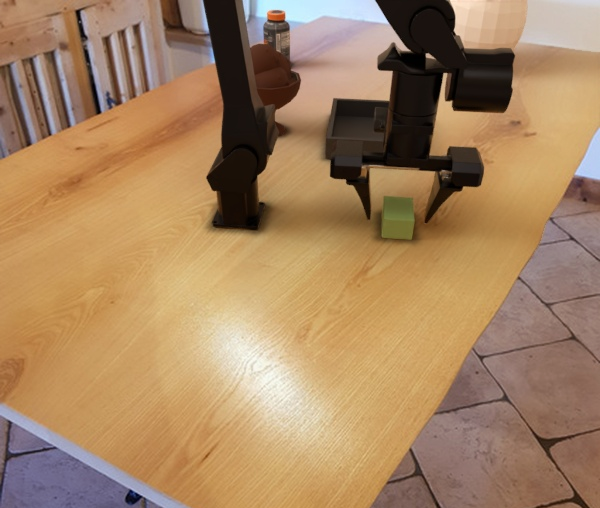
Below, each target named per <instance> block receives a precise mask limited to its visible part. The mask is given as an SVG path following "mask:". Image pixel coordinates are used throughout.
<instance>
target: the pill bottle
mask: <svg viewBox="0 0 600 508" xmlns="http://www.w3.org/2000/svg"><path fill="white" fill-rule="evenodd" d="M262 30H263V35H262V36H263V44H269V45H271V46H272V47H273V48H274V49H275V50H276V51H278V52H281V53H282V54H283V55H284V56H286V57H287V58H288V59H289V60H290V61H291V26H290V23H289V22H288V21H286V11H285V10H282V9H271V10H268V11H267V12H266V21H265V22H264V23H263V27H262Z"/></svg>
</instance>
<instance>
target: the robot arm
mask: <svg viewBox="0 0 600 508" xmlns="http://www.w3.org/2000/svg"><path fill="white" fill-rule="evenodd" d="M374 1H375V3H376V4H377V6H378V7H379V9H380V11H381V13H382V15H383V16H384V17H385V19H386V21H387V23H388V24H389V25H390V27H391V29H392V31H394V33H395V34H396V35H397V37H398V38H399V40H400V41H401V42H402V44H403V45H404V47H405V48H406V49H407V50H403V49H400V47H398V45H397V43H396V42H394V41H393V42H391V43H390V44H389V46H388V47H387V48H386V50H384V51H382V52H381V53H379V55H377V58H376V59H377V62H376V64H377V65H376V68H377V70H378V71H380V72H391V83H390V91H389V100H388V101H389V108H381V107H375V112H374V123H373V132H374V133H384V138H383V147H384V152H383V153H380V152H363V142H362V141H343V140H337V141H336V142H335V143H334V144H333V148H332V154H331V159H330V165H329V177H330V178H331V179H334V180H345V185H347V186H353V188H354V190H355V192H356V194H357V196H358V197H359V199H360V201H361V205H362V208H363V211H364V214H365V217H366V220H367V221H371V217H372V216H371V215H372V191H371V189H372V188H371V169H386V170H401V171H417V172H419V171H421V172H434V177H433V182H432V185H431V189H430V192H429V196H428V199H427V203H426V206H425V209H424V215H423V223H424V224H428V223H429V222H430V221H431V219H432V218H433V217H434V215H435V214H436V213H437V212H438V210H439V209H440V208H441V206H442V205H444V203H445V202H446V201H447V200H448V199H450V197H451V196H452V195H453V194H454V193H455V192H456V193H461V192H462V191H463V189H464V187H465V188H479V187H481V185H482V183H483V179H484V175H485V164H484V161H483V159H482V158H483V157H482V155H481V152H480V150H478V148H477V147H474V146H473V147H472V146H454V145H449V146H448V148H447V150H446V154H442V155H433V154H431V149H432V144H433V138H434V132H435V126H436V121H437V115H438V110H439V109H438V108H439V104H440V103H439V102H440V97H441V91H442V85H443V80H444V74H446V78H445V85H444V101H445V102H451V108H452V111H453V112H461V113H462V112H466V113H486V114H505V113H506V111H507V109H508V108H509V105H510V103H511V100H512V96H513V93H514V91H513V90H514V89H513V78H514V61H515V59H516V54H515V52H514V50H513V51H512V49H511V48H496V49H472V48H464V46H463V43H462V40H461V38H460V36H459V35H456V33H455V32H454V28H455V18H456V17H455V12H454V9H453V7H452V4H451V2H450V0H374ZM202 4H203V9H204V13H205V19H206V25H207V29H208V34H209V40H210V44H211V49H212V54H213V59H214V64H215V69H216V74H217V79H218V84H219V89H220V94H221V99H222V119H221V132H220V138H221V139H220V141H221V142H220V143H221V144H220V145H221V147H220V149H219V151H218V153H217V155H216V157H215V159H214V160H213V163H212V164H211V167H210V169H209V171H208V172H207V174H206V176H205V179H206V181H207V183H208V185H209V187H210V189H211V191H213V192H216V200H217V209H216V211H215V213H214V216H213V218H212V220H211V226H212V227H214V228H232V229H243V230H244V229H245V230H258V229H259V228H260V225H261V221H262V219H263V215H264V211H265V209H266V203H265V202H263V201H260V198H259V194H260V193H259V176H260V175H262V173H263V172H264V171H265V170H266V168H267V166H268V161H269V160H270V157H271V156H273V152H274V150H275V146H276V144H277V140H278V138H279V136H278V135H279V130H278V129H277V127H276V124H275V121H276V112H275V105H274V104H271V105H267V106H264V105H263V103H262V101H261V99H260V97H259V95H258V93H257V89H256V82H255V76H254V69H253V63H252V57H251V50H250V47H251V45H250V38H249V31H248V26H247V20H246V12H245V6H244V0H202ZM427 54H428V55H430V56H431V57H432V58H431V57H427Z"/></svg>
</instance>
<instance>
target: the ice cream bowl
mask: <svg viewBox="0 0 600 508" xmlns="http://www.w3.org/2000/svg"><path fill="white" fill-rule="evenodd" d="M250 50H251V57H252V63H253V69H254V76H255V82H256V89H257V93H258V95H259V97H260V99H261V101H262V103H263V105H264V106H267V105H271V104H274V105H275V113H276V111H277V110H280V109H281V108H283V107H285V106H287V105H288V104H290V103H291V102H292V101H293V100H294V99H295V98H296V97H297V94H298V93H299V91H300V89H301V84H302V78H301V76H300V73H299V72H296V71H295V70H292V69H291V68H292V65H291V59H290V60H289V59H288V58H287V57H286V56H284V55H283V54H282V53H281V52H278V51H276V50H275V49H274V48H273V47H272V46H271V45H269V44H264V43H256V44H253V45H252V46H250ZM275 124H276V127H277V129H278V130H279V135H278V137H281V136H282V135H284V134H285V133H286V128H285V125H283V124H282V123H280V122H278V121H276V120H275Z"/></svg>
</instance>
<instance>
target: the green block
mask: <svg viewBox="0 0 600 508" xmlns="http://www.w3.org/2000/svg"><path fill="white" fill-rule="evenodd" d="M415 220H416V218H415V207H414V197H409V196H393V195H391V196H390V195H384V196H383V200H382V207H381V238H382V239H392V240H393V239H395V240H409V241H411V240H413V233H414V228H415V222H416V221H415Z"/></svg>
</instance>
